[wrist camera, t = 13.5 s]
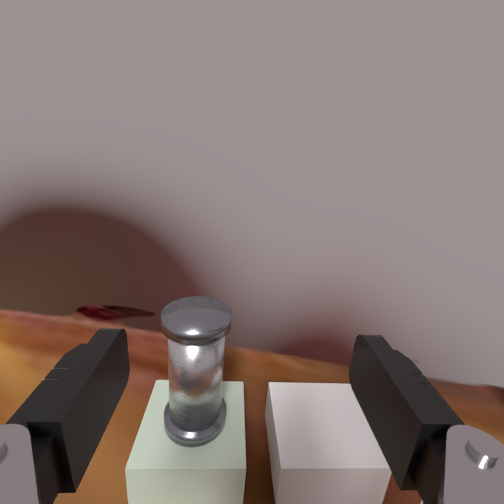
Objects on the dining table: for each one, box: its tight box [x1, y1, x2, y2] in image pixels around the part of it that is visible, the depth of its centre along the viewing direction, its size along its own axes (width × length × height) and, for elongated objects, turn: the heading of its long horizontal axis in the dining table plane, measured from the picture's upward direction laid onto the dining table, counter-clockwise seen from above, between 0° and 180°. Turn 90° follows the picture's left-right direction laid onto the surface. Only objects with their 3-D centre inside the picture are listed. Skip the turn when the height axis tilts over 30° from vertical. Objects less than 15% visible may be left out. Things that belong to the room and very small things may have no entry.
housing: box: [161, 296, 232, 447], centre depth 27 cm, size 6×6×12 cm
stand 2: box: [265, 382, 392, 504], centre depth 31 cm, size 10×10×5 cm
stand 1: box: [125, 380, 246, 504], centre depth 30 cm, size 10×10×5 cm
